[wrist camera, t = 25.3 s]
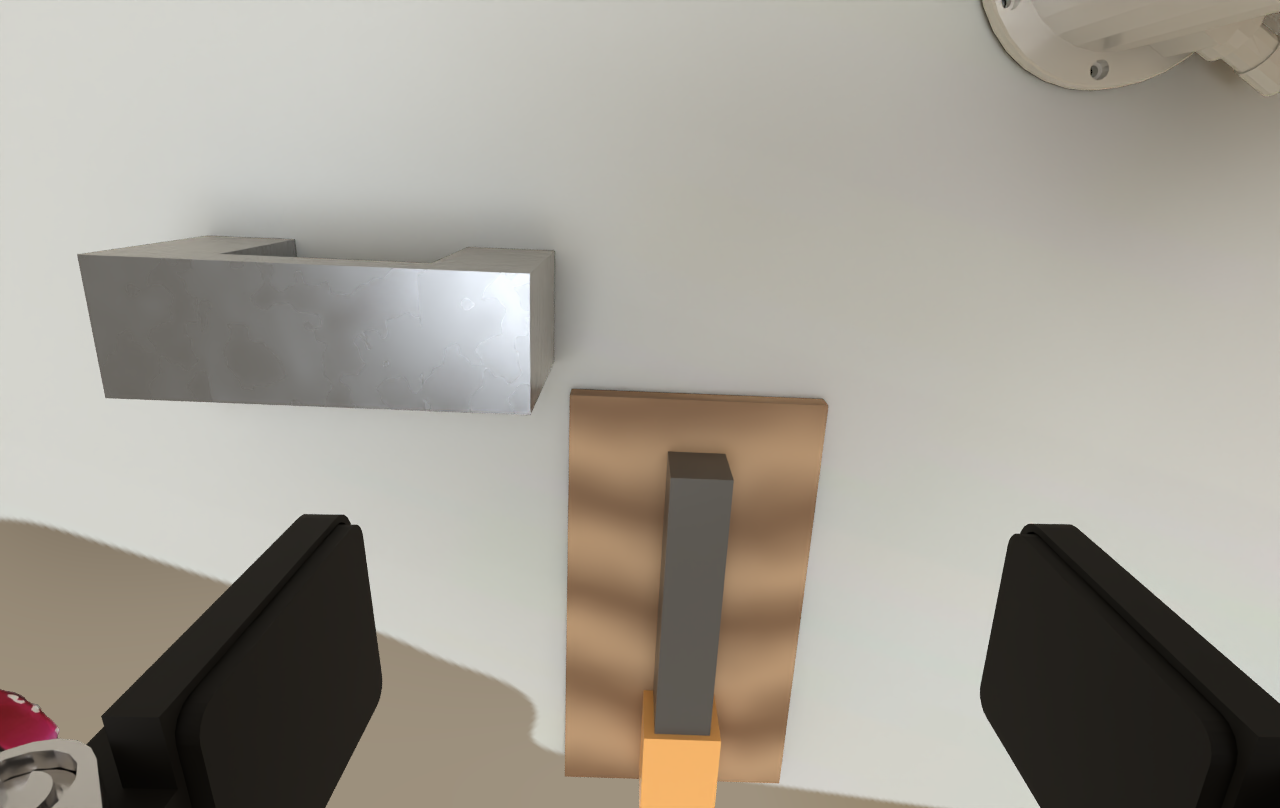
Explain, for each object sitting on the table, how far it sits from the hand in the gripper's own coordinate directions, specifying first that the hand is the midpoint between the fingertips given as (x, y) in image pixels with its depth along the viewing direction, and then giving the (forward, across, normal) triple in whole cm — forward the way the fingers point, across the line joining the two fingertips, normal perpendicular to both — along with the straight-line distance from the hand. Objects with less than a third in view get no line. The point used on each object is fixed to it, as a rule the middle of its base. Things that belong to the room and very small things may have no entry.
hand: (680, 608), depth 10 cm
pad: (+29, -2, +19) cm, 35 cm away
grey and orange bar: (+28, -2, +20) cm, 34 cm away
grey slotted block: (+29, +15, +1) cm, 32 cm away
